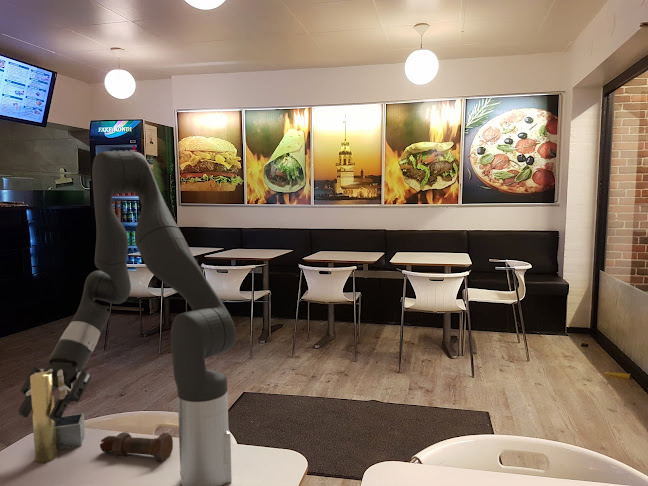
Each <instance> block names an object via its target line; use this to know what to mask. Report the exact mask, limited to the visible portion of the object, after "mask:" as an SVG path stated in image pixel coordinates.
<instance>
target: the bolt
mask: <svg viewBox="0 0 648 486" xmlns="http://www.w3.org/2000/svg"><path fill="white" fill-rule="evenodd" d="M100 442H101V443H100V444H99V447H100V451H102V452H105V453H113V454H114V456H115V457H116V458H118V457H119V458H123V457H125V456H126V455H128V454H130V455H131V454H133V455H144V456H145V455H146V456H153V457H154V459H155V461H156V462H157V463H163V462H165V461H167V460H168V459H169V458H170V457H171V454H172V452H173V449H174V441H173V436H172V435H171V433H169V432H162V433H161V434H160V435H159V436H158V437H156V438H155V437H154V438H148V437H147V438H146V437H133V436H131V434H130V433H129V432H126V431H125V432H124V431H122V432H120V433H119V434H118V435H116V436H115V435H108V436H105V437H104V438H101V440H100Z"/></svg>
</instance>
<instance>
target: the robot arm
mask: <svg viewBox="0 0 648 486" xmlns="http://www.w3.org/2000/svg"><path fill="white" fill-rule="evenodd" d="M92 162H93V163H92V168H91V169H92V173H91V174H92V190H93V191H92V192H93V193H92V194H93V204H94V205H93V206H94V213H95V214H94V215H95V224H96V225H95V227H96V235H95V236H96V237H95V239H96V241H95V250H94V251H95V253H94V264H95V267H96V268H97V269H98V270H94V271H92V272H90V273H89V274H88V275H87V277H86V279H85V280H84V281H85V282H84V286H83V293H82V296H81V300H80V303H79V306H78V308H77V310H76V312H75V314H74V315H73V318H72V319H71V321H70V323H69V324H68V326H67V327H66V329H65V330H64V331H63V333H62V335H61V337H60V338H59V340H58V342H57V343H56V345H55V347H54V349H53V351H52V353H51V354H50V356H49V363H48V365H47V366H46V367H45V368H39V367H37V366H33V367H32V369H31V371H30V372H29V374H28V376H27V378H26V379H25V381H24V383H23V385H22V386H21V389H20V392H21V393H22V394H23V395H25V398H24V400H23V401H22V403H21V405H20V407H19V408H18V415H19V416H21V417H22V418H28V417H29V416H30V414H31V413H32V399H31V382H30V376H31V375H33V374H35V373H39V372H52V375H53V391H55V390H58V391H59V399H57V400H56V402H55V403H54V408H53V410H52V412H51V414H50V416H49V418H50V419H52V420H54V421H58V420H59V418H61V417H62V416H64V413H65V411H66V409H67V407H68V405H69V404H71V403H72V402H76V403H79V401H80V400H81V399H82V397H83V395H84V392H86V389H87V387H88V385H89V383H90V382H91V379H92V375H90V373H88V372H87V371H86V370H85V367H86V366H87V363H88V362H89V360H90V358H91V356H92V354H93V352H94V350H95V347H96V346H97V344H98V341H99V338H100V336H101V334H102V332H103V329H104V328H105V326H106V324H107V322H108V321H109V317H110V313H109V310H107V308H106V307H104V306H103V305H101V304H99V303H97V302H96V300H98V301H102V302H106V303H110V304H112V305H113V304H115V305H120V304H123V303H124V302H126V301H127V300H128V298H129V297H130V294H131V291H132V289H131V288H132V286H131V285H132V283H131V279H130V273H129V269H128V266H127V265H128V264H127V258H128V248H129V237H128V232H127V230H126V228H125V226H124V225H123V223H122V222H121V220H120V219H119V217H118V216H117V215H116V212H115V210H114V208H113V203H112V202H113V201H112V200H113V195H114V194H115V195H117V194H130V193H131V194H135V195H136V196H137V197H138V199H139V201H140V205H141V209H140V215H139V217H138V219H137V224H136V227H135V232H134V243H135V246H136V248H137V251H138V253H139V254H140V257H141V258H142V261H143V262H144V265H145V266H146V268H147V269H148V270H149V272H150V273H152V275H153V276H155V277H156V278H157V279H159V280H160V281H161V282H163V283H164V284H165V285H167V287H169V288H171V289H173V290H174V291H175V292H177V293H178V294H179V295H180V296H182V297H183V299H184V300H185V301H186V303H187V304H188V305H189V306H190V308H191V310H189V311H186V312H185V311H184V312H180V313H179V314H177V315H175V317H174V319H173V321H172V323H171V327H170V347H171V355H172V364H173V365H172V366H173V379H174V381H175V385H176V388H177V411H178V412H177V414H178V441H179V469H180V470H179V476H180V485H181V486H224V485H226V484H228V483H232V480H233V479H232V448H231V447H232V446H231V445H232V444H231V442H232V440H231V437H232V436H231V432H230V429H229V405H228V403H229V402H228V400H229V398H228V379H227V376H226V375H225V374H224V373H223V372H220V371H217V370H212V369H207V368H206V360H205V359H207V358H211V357H213V356H217V355H220V354H222V353H225V352H228V351H230V350H231V349H232V348H233V347H234V345H235V343H236V338H237V333H236V326H235V323H234V321H233V318H232V316H231V314H230V312H229V310H228V309H227V308H226V306H225V304H224V303H223V302H222V300H221V299H220V297H219V295H218V294H217V293H216V291H215V290H214V288H213V287H212V286H211V284H210V281H208V280H207V279H208V278H206V275H205V274H204V272H203V270H202V269H201V268H200V266H199V264H198V262H197V260H196V258H195V256H194V255H193V253H192V250H191V249H190V246H189V245H188V242H187V241H186V239H185V237H184V235H183V233H182V232H181V229H180V228H179V225H178V224H177V223H176V220H175V219H174V217H173V216H172V213H171V211H170V210H169V207H168V206H167V203H166V202H165V199H164V197H163V195H162V193H161V190H160V188H159V187H160V186H159V185H158V182H157V181H156V178H155V177H156V176H154V173H153V170H152V168H151V166H150V163H149V162H148V160H147V158H146V156H144V154H142V153H140V152H138V151H133V150H129V151H127V150H123V151H119V150H118V151H117V150H115V151H114V150H112V151H109V150H108V151H100V152H98V153H97V154H96V155H95V157H94V159H93V161H92ZM73 383H74V384H73Z"/></svg>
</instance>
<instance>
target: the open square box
mask: <svg viewBox="0 0 648 486" xmlns="http://www.w3.org/2000/svg"><path fill="white" fill-rule="evenodd" d="M55 428H56V446H57V451H58V450H64V449H70V448H71V449H72V448H77V447H82V445H83V441H84V438H85V435H86V433H85V432H86V431H85V413H84V412H81V413H74V414H68V415H62V417H61V418H59V420H58V421H55Z"/></svg>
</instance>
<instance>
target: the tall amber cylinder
mask: <svg viewBox="0 0 648 486" xmlns="http://www.w3.org/2000/svg"><path fill="white" fill-rule="evenodd" d="M30 382H31V385H30V386H31V399H32V410H31V414H32V427H33V428H32V429H33V430H32V431H33V447H34V460H35V461H34V462H35V463H38V464H44V463H48V462H51V461H54V460H55V459H56V458H57V456H58V450H57V446H56V428H55V421H54V420H52V419H50V418H49V416H50V414H51V412H52V410H53V408H54V406H55V395H54V390H53V375H52V372H39V373H35V374H33V375H31V376H30Z"/></svg>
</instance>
